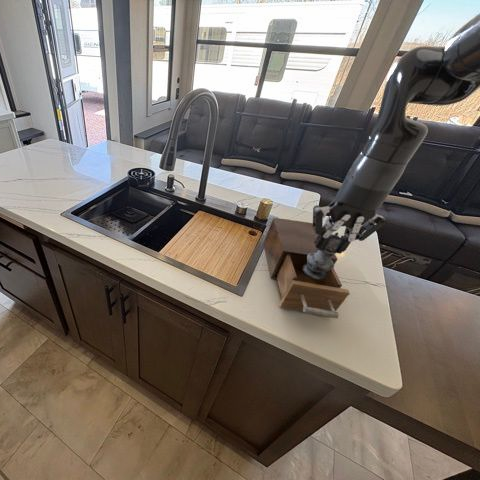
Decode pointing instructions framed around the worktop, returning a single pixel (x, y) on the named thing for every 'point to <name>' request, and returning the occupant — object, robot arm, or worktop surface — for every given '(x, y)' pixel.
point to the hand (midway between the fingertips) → (327, 249)
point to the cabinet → (289, 242)
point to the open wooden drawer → (309, 288)
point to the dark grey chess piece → (322, 258)
